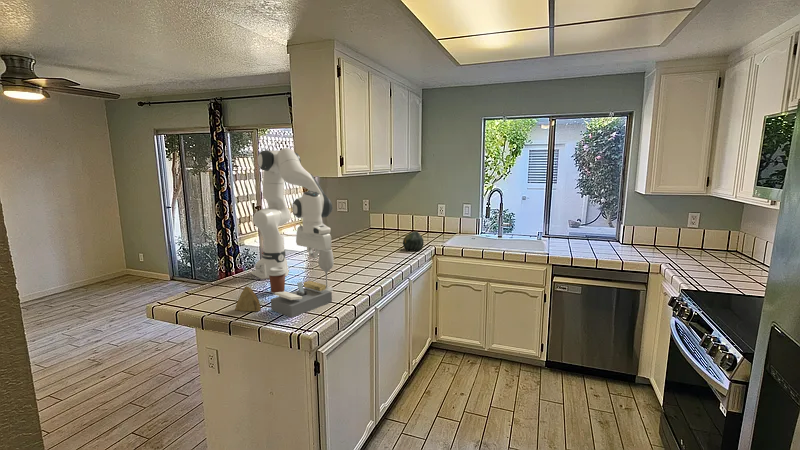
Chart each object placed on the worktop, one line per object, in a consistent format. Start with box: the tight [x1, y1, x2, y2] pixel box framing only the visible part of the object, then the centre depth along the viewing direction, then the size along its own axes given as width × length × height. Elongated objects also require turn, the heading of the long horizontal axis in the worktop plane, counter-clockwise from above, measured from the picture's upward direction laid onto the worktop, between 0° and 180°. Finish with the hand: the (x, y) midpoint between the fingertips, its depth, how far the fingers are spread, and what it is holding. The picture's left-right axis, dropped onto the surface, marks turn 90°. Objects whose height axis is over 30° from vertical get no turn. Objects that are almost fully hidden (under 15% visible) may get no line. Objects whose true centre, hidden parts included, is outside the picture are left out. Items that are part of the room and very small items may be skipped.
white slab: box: [274, 291, 302, 300], centre depth 170 cm, size 11×6×1 cm, turn 54°
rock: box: [234, 286, 262, 312], centre depth 171 cm, size 11×9×10 cm
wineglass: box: [317, 248, 335, 292], centre depth 198 cm, size 8×8×21 cm
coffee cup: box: [268, 267, 286, 295], centre depth 195 cm, size 9×9×12 cm
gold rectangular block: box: [303, 280, 326, 291], centre depth 182 cm, size 11×4×2 cm, turn 54°
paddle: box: [296, 281, 305, 295], centre depth 176 cm, size 2×2×6 cm
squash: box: [402, 231, 425, 251], centre depth 288 cm, size 14×15×15 cm
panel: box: [270, 287, 333, 318], centre depth 176 cm, size 14×23×7 cm, turn 144°
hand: (313, 257), depth 180 cm, fingers closed
